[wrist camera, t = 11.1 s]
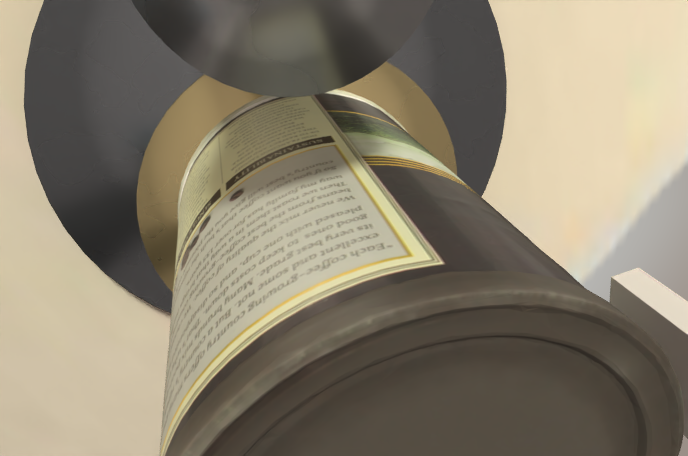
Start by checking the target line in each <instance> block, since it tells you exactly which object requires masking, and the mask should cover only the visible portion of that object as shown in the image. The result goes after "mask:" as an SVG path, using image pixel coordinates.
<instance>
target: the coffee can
mask: <svg viewBox="0 0 688 456" xmlns="http://www.w3.org/2000/svg"><path fill="white" fill-rule="evenodd" d="M683 433H684V402H683V397H682V392H681V387H680V384H679V381H678V378H677V376H676V374H675V372H674V369H673V367H672V365H671V363H670V361H669V359H668V357H667V356H666V355H665V353H664V351H663V349H662V348H661V346H660V345H659V344H658V343H657V342H656V341H655V340H654V339H653V338H652V337H651V336H650V335H648V334H647V333H646V332H645V331H644V330H643V329H642V328H641V327H640V326H638V325H637V324H636V323H635V322H634V321H633V320H631V319H630V318H629V317H628V316H626V315H625V314H624V313H622V312H621V311H620V310H619V309H617V308H616V307H615V306H613V305H612V304H610V303H609V302H607V301H606V300H604V299H602V298H601V297H599V296H597V295H596V294H594V293H592V292H590V291H589V290H587V289H585V288H584V287H583V286H582V285H581V284H580V283H579V282H578V281H576V280H575V279H574V278H573V277H572V276H571V275H570V274H569V273H568V272H567V271H566V270H565V269H563V268H562V267H561V266H560V265H559V264H557V263H556V262H555V261H554V260H553V259H551V258H550V257H549V256H548V255H546V254H545V253H544V252H543V251H542V250H540V249H539V248H538V247H537V246H536V245H534V244H533V243H532V242H531V241H530V240H529V239H528V238H527V237H526V236H525V235H524V234H523V233H522V232H520V231H519V230H518V229H517V228H516V227H514V226H513V225H512V224H511V223H510V222H509V221H508V220H507V219H506V218H504V217H503V216H502V215H501V214H500V213H499V212H498V211H496V210H495V209H494V208H493V207H492V206H491V205H490V204H489V203H487V202H486V201H485V200H484V199H483V198H481V197H480V196H479V195H478V194H477V193H476V192H474V191H473V190H472V189H471V188H470V187H469V186H468V185H466V184H465V183H464V182H463V181H462V180H461V179H460V178H459V177H457V176H456V175H455V174H454V173H453V172H452V171H450V170H449V169H448V168H447V167H446V166H445V165H444V164H443V163H442V162H441V161H439V160H438V159H437V158H436V157H435V156H434V155H433V154H432V153H430V152H429V151H428V150H427V149H426V148H425V147H423V146H422V145H421V144H420V143H419V142H418V141H417V140H415V139H414V138H413V137H412V136H411V135H410V134H409V133H408V132H407V131H406V129H405V128H404V127H403V126H402V125H401V124H400V123H399V122H398V121H397V120H396V119H395V118H394V117H393V116H392V115H391V114H389V113H388V112H387V111H385V110H384V109H383V108H381V107H380V106H378V105H376V104H375V103H373V102H372V101H370V100H367V99H365V98H363V97H360V96H358V95H355V94H352V93H349V92H346V91H341V90H336V89H335V90H332V91H329V92H326V93H321V94H316V95H310V96H303V97H274V96H262V97H259V98H257V99H255V100H253V101H251V102H249V103H247V104H245V105H243V106H241V107H240V108H238V109H237V110H235V111H234V112H232V113H231V114H229V115H228V116H227V117H225V118H224V119H223V120H222V121H221V122H219V123H218V124H217V125H216V126H215V127H214V128H213V129H212V130H211V131H210V132H208V134H207V135H206V136H205V138H204V139H203V140H202V141H201V143H200V145H199V146H198V148H197V150H196V151H195V153H194V154H193V156H192V157H191V159H190V161H189V163H188V166H187V168H186V171H185V174H184V176H183V179H182V181H181V186H180V191H179V197H178V238H177V250H176V262H175V276H174V284H173V299H172V312H171V324H170V337H169V349H168V360H167V371H166V382H165V394H164V406H163V418H162V432H161V444H160V455H159V456H678V454H679V451H680V448H681V444H682V440H683Z"/></svg>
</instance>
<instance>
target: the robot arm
mask: <svg viewBox="0 0 688 456" xmlns="http://www.w3.org/2000/svg"><path fill="white" fill-rule="evenodd" d="M610 304H612V305H613V306H615V307H616V308H617V309H619V310H620V311H621V312H622V313H624V314H625V315H626V316H628V317H629V318H630V319H631V320H633V321H634V322H635V323H636V324H637V325H638V326H640V327H641V328H642V329H643V330H644V331H645V332H646V333H647V334H648V335H650V336H651V337H652V338H653V339H654V340H655V341H656V342H657V343H658V344H659V345H660V346H661V348H662V349H663V351H664V353H665V355H666V356H667V357H668V359H669V361H670V363H671V365H672V367H673V369H674V372H675V374H676V376H677V378H678V381H679V384H680V387H681V392H682V397H683V402H684V433H683V435H684V436H686V437H687V438H688V301H686V300H685V299H683V298H682V297H680V296H679V295H677V294H676V293H675V292H673V291H672V290H670V289H669V288H667V287H666V286H664V285H663V284H662V283H660V282H659V281H657V280H656V279H654V278H653V277H651V276H650V275H649V274H647V273H645V272H644V271H642V270H641V269H640V268H637V269H633V270H630V271H627V272H624V273H621V274H618V275H615V276H612V277H611V289H610Z"/></svg>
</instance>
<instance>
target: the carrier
mask: <svg viewBox="0 0 688 456" xmlns="http://www.w3.org/2000/svg"><path fill="white" fill-rule="evenodd" d="M335 89H336V90H341V91H346V92H349V93H352V94H355V95H358V96H360V97H363V98H365V99H367V100H370V101H372V102H373V103H375V104H376V105H378V106H380V107H381V108H383V109H384V110H385V111H387V112H388V113H389V114H391V115H392V116H393V117H394V118H395V119H396V120H397V121H398V122H399V123H400V124H401V125H402V126H403V127H404V128H405V129H406V131H407V132H408V133H409V134H410V135H411V136H412V137H413V138H414V139H415V140H417V141H418V142H419V143H420V144H421V145H422V146H423V147H425V148H426V149H427V150H428V151H429V152H430V153H432V154H433V155H434V156H435V157H436V158H437V159H438V160H439V161H441V162H442V163H443V164H444V165H445V166H446V167H447V168H448V169H449V170H450V171H452V172H453V173H454V174H455V175H456V176H457V177H459V178H460V179H461V180H462V181H463V182H464V183H465V184H466V185H468V186H469V187H470V188H471V189H472V190H473V191H474V192H476V193H477V194H478V195H479V196H480V197H482V195H483V193H484V191H485V189H486V186H487V184H488V181H489V179H490V176H491V173H492V171H493V168H494V166H495V163H496V159H497V155H498V151H499V147H500V144H501V140H502V134H503V127H504V120H505V113H506V72H505V62H504V53H503V48H502V44H501V40H500V36H499V31H498V27H497V23H496V20H495V18H494V15H493V12H492V10H491V7H490V4H489V2H488V0H44V2H43V5H42V8H41V11H40V13H39V16H38V19H37V22H36V25H35V28H34V30H33V33H32V37H31V42H30V48H29V53H28V58H27V64H26V69H25V92H24V110H25V119H26V127H27V136H28V142H29V146H30V149H31V153H32V157H33V161H34V165H35V168H36V172H37V174H38V177H39V179H40V181H41V184H42V186H43V189H44V191H45V193H46V196H47V198H48V200H49V202H50V204H51V206H52V208H53V209H54V211H55V213H56V214H57V216H58V218H59V219H60V221H61V223H62V224H63V226H64V228H65V229H66V231H67V232H68V233H69V234H70V236H71V237H72V238H73V239H74V241H75V242H76V243H77V244H78V246H79V247H80V248H81V249H82V251H83V252H84V253H85V254H86V255H87V256H88V257H89V258H90V259H91V260H92V261H93V262H94V263H95V264H96V265H97V266H98V267H99V268H100V269H101V270H102V271H103V272H104V273H105V274H107V275H108V276H109V277H111V278H112V279H113V280H115V281H116V282H117V283H118V284H120V285H121V286H122V287H124V288H125V289H126V290H128V291H129V292H131V293H133V294H134V295H136V296H138V297H139V298H141V299H143V300H145V301H146V302H148V303H150V304H151V305H153V306H155V307H158V308H160V309H162V310H165V311H167V312H169V313H171V312H172V299H173V284H174V276H175V262H176V250H177V238H178V197H179V191H180V186H181V181H182V179H183V176H184V174H185V171H186V168H187V166H188V163H189V161H190V159H191V157H192V156H193V154H194V153H195V151H196V150H197V148H198V146H199V145H200V143H201V141H202V140H203V139H204V138H205V136H206V135H207V134H208V132H210V131H211V130H212V129H213V128H214V127H215V126H216V125H217V124H218V123H219V122H221V121H222V120H223V119H224V118H225V117H227V116H228V115H229V114H231V113H232V112H234V111H235V110H237V109H238V108H240V107H241V106H243V105H245V104H247V103H249V102H251V101H253V100H255V99H257V98H259V97H262V96H274V97H303V96H310V95H316V94H321V93H326V92H329V91H332V90H335Z"/></svg>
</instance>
